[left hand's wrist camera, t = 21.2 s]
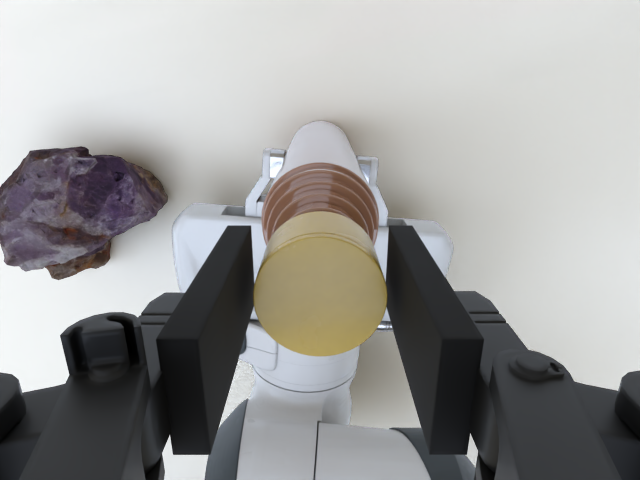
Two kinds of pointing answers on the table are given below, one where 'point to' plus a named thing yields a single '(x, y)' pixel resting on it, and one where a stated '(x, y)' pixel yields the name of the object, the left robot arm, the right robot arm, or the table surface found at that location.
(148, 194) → the rock
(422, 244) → the left robot arm
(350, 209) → the bottle
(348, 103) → the table surface
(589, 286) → the table surface
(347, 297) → the cap
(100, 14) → the table surface
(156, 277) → the table surface
